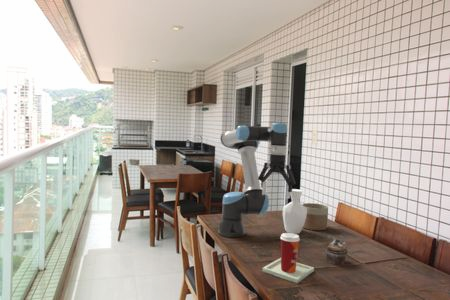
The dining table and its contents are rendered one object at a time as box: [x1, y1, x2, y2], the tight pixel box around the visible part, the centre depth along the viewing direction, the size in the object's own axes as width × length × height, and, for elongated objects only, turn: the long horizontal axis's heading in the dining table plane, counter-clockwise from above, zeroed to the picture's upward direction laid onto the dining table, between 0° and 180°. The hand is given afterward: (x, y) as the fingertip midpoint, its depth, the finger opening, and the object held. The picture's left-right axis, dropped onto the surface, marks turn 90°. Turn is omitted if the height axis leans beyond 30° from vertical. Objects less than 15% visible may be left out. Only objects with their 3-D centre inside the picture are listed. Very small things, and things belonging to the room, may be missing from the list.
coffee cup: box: [279, 232, 301, 273], centre depth 144 cm, size 8×8×15 cm
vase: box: [282, 188, 307, 235], centre depth 202 cm, size 14×14×25 cm
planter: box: [301, 202, 329, 232], centre depth 214 cm, size 16×16×14 cm
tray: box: [262, 257, 315, 284], centre depth 144 cm, size 16×16×2 cm
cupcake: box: [325, 238, 348, 266], centre depth 158 cm, size 10×10×10 cm
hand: (275, 196), depth 170 cm, fingers open, 13 cm apart
